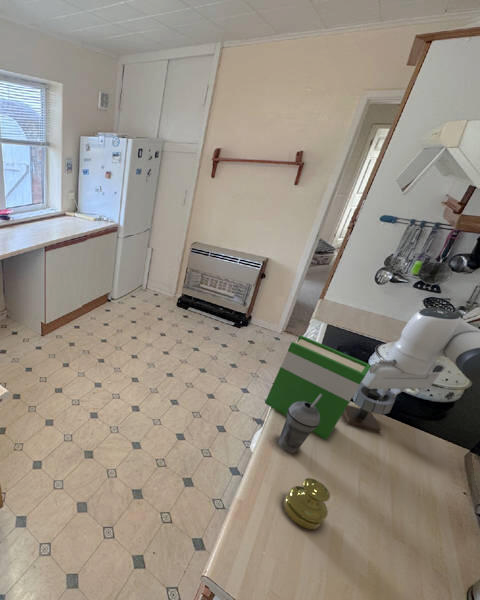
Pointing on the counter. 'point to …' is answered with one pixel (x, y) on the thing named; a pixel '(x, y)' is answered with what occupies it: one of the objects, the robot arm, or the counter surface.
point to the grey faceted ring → (373, 401)
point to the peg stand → (362, 416)
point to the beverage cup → (299, 424)
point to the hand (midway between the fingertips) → (384, 396)
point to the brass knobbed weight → (307, 503)
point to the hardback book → (317, 381)
